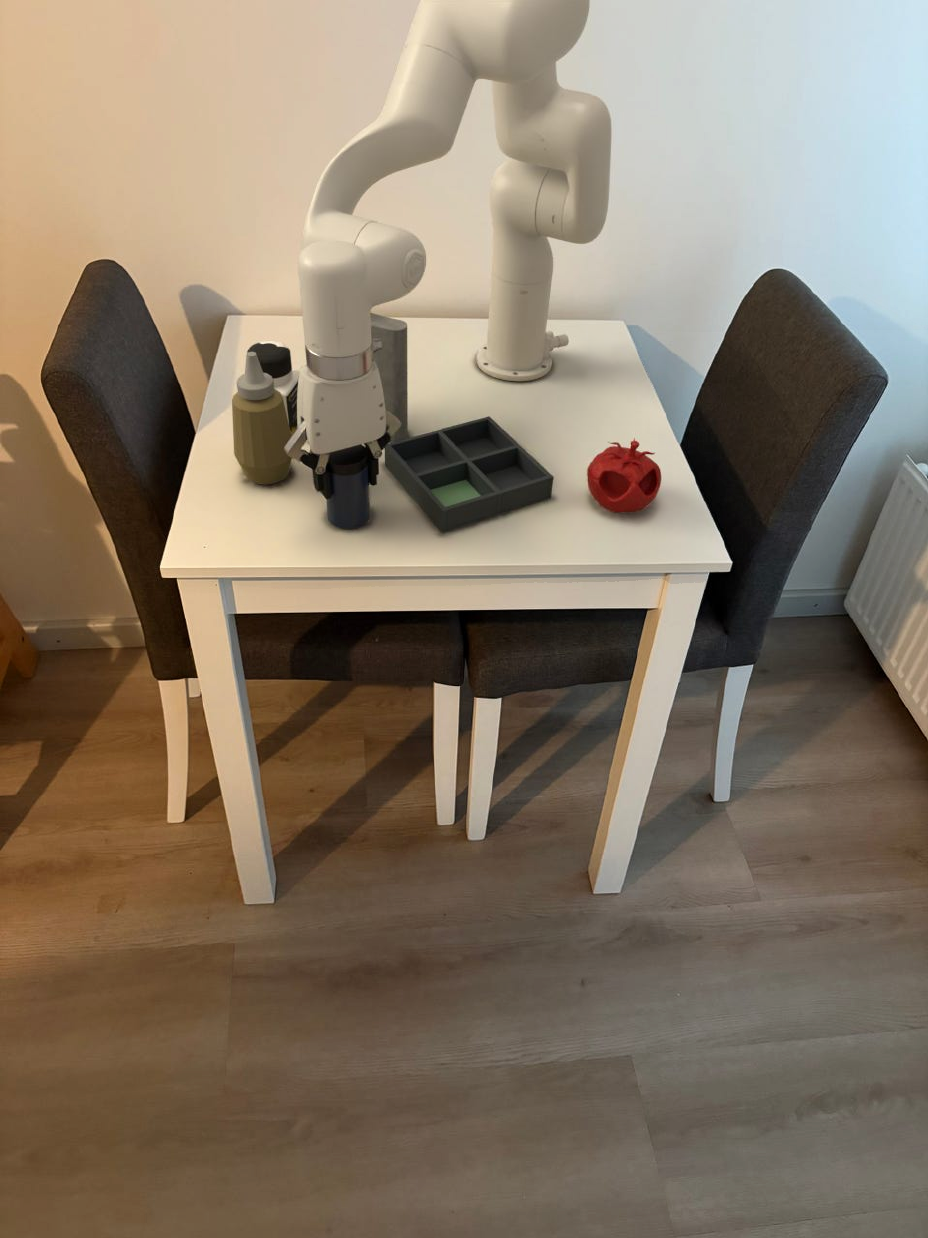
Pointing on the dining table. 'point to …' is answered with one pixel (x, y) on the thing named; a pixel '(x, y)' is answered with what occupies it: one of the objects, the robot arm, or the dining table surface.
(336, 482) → the thermos
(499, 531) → the dining table surface
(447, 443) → the tray
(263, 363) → the medicine bottle
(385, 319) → the hip flask
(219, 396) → the dining table surface
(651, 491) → the red hollow tomato
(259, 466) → the squeeze bottle
